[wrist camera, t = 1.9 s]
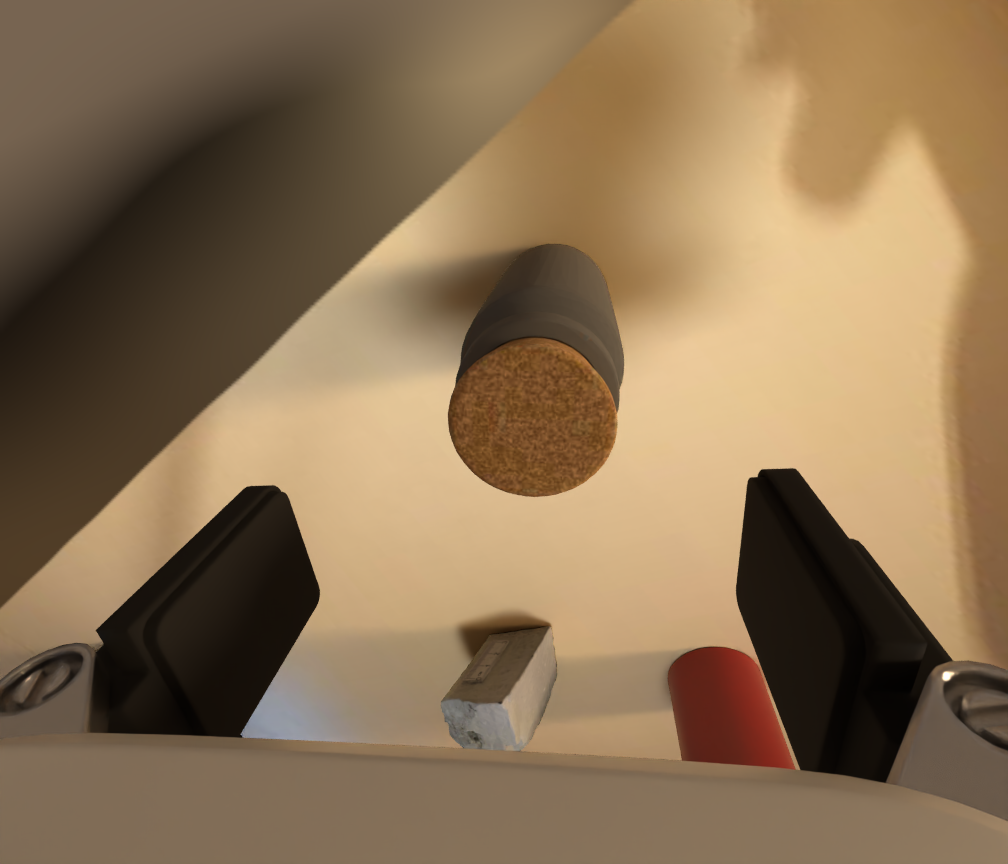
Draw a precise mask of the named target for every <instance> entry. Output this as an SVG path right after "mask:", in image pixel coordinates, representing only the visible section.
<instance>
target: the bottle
mask: <svg viewBox="0 0 1008 864" xmlns="http://www.w3.org/2000/svg"><path fill="white" fill-rule="evenodd" d="M623 373H624V354H623V348H622V343H621V338H620V333H619V329H618V325H617V321H616V317H615V314H614V310H613V306H612V302H611V299H610V295H609V291H608V288H607V284H606V282H605V279H604V277H603V275H602V273H601V271H600V269H599V268H598V266H597V265H596V264H595V262H594V261H593V260H592V259H591V258H590V257H588V256H587V255H586V254H584V253H583V252H581V251H579V250H577V249H575V248H573V247H570V246H567V245H561V244H546V245H541V246H538V247H535V248H532V249H530V250H528V251H526V252H524V253H523V254H521V255H520V256H519V257H517V258H516V259H515V260H514V261H513V262H512V263H511V265H510V266H509V267H508V268H507V269H506V271H505V272H504V274H503V275H502V277H501V278H500V280H499V281H498V283H497V284H496V286H495V287H494V289H493V290H492V292H491V293H490V295H489V296H488V298H487V299H486V301H485V302H484V304H483V305H482V307H481V308H480V310H479V311H478V313H477V315H476V317H475V318H474V320H473V322H472V324H471V326H470V328H469V330H468V331H467V333H466V336H465V339H464V343H463V346H462V352H461V363H460V367H459V370H458V374H457V377H456V384H455V388H454V391H453V393H452V396H451V400H450V405H449V411H448V424H449V432H450V435H451V439H452V442H453V444H454V446H455V449H456V451H457V453H458V455H459V456H460V457H461V459H462V460H463V462H464V463H465V464H466V466H467V467H468V468H469V469H470V470H471V471H472V472H473V473H474V474H475V475H477V476H478V477H479V478H480V479H482V480H483V481H484V482H486V483H488V484H489V485H491V486H493V487H495V488H498V489H500V490H502V491H505V492H508V493H512V494H517V495H522V496H531V497H539V496H550V495H556V494H559V493H562V492H565V491H568V490H571V489H573V488H575V487H577V486H579V485H581V484H583V483H584V482H585V481H587V480H588V479H589V478H590V477H592V476H593V475H594V474H595V473H596V472H597V471H598V470H599V469H600V468H601V467H602V465H603V464H604V463H605V461H606V460H607V458H608V457H609V454H610V452H611V450H612V448H613V445H614V443H615V438H616V432H617V412H618V407H619V389H620V386H621V383H622V379H623Z"/></svg>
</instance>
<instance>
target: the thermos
mask: <svg viewBox="0 0 1008 864" xmlns="http://www.w3.org/2000/svg"><path fill="white" fill-rule="evenodd" d="M668 684H669V689H670V695H671V701H672V706H673V712H674V718H675V723H676V729H677V734H678V740H679V746H680V751H681V757H682V761H692V762H706V763H720V764H734V765H747V766H761V767H775V768H786V769H794V770H796V769H795V766H794V764H793V761H792V758H791V755H790V753H789V750H788V747H787V744H786V742H785V739H784V736H783V733H782V730H781V728H780V725H779V722H778V719H777V717H776V714H775V711H774V708H773V706H772V703H771V700H770V697H769V695H768V692H767V689H766V686H765V684H764V681H763V678H762V675H761V673H760V670H759V668H758V666H757V664H756V663H755V662H754V661H753V660H752V659H751V658H750V657H748V656H747V655H745V654H743V653H741V652H739V651H736V650H733V649H729V648H721V647H709V648H702V649H697V650H694V651H691V652H689V653H687V654H685V655H683V656H681V657H680V658H679V659H677V660H676V661H675V662H674V663H673V665H672V666H671V668H670V670H669V673H668Z"/></svg>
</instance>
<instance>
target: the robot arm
mask: <svg viewBox="0 0 1008 864" xmlns="http://www.w3.org/2000/svg"><path fill="white" fill-rule="evenodd" d="M736 596H737V602H738V606H739V610H740V612H741V615H742V617H743V620H744V623H745V625H746V628H747V631H748V633H749V636H750V638H751V641H752V644H753V646H754V649H755V652H756V654H757V657H758V659H759V662H760V665H761V667H762V670H763V673H764V675H765V678H766V681H767V683H768V686H769V688H770V691H771V694H772V696H773V699H774V702H775V704H776V707H777V709H778V712H779V715H780V717H781V720H782V723H783V725H784V728H785V730H786V733H787V736H788V738H789V741H790V744H791V746H792V749H793V751H794V754H795V757H796V759H797V762H798V765H799V767H800V770H794V769H786V768H775V767H761V766H747V765H734V764H720V763H706V762H692V761H679V760H665V759H648V758H630V757H612V756H594V755H576V754H558V753H540V752H522V751H504V750H486V749H466V748H446V747H427V746H407V745H387V744H366V743H346V742H325V741H304V740H281V739H258V738H238V737H239V736H240V734H241V732H242V731H243V729H244V727H245V726H246V724H247V722H248V721H249V719H250V717H251V716H252V714H253V712H254V710H255V709H256V707H257V705H258V704H259V702H260V700H261V699H262V697H263V695H264V694H265V692H266V690H267V689H268V687H269V685H270V684H271V682H272V680H273V679H274V677H275V675H276V673H277V672H278V670H279V668H280V667H281V665H282V663H283V662H284V660H285V658H286V657H287V655H288V653H289V652H290V650H291V648H292V647H293V645H294V643H295V642H296V640H297V638H298V637H299V635H300V633H301V631H302V630H303V628H304V626H305V625H306V623H307V621H308V620H309V618H310V616H311V615H312V613H313V611H314V610H315V608H316V606H317V604H318V601H319V597H320V589H319V585H318V582H317V580H316V577H315V574H314V571H313V568H312V565H311V562H310V559H309V556H308V553H307V550H306V547H305V544H304V542H303V539H302V536H301V533H300V530H299V527H298V524H297V521H296V518H295V515H294V512H293V509H292V507H291V504H290V501H289V498H288V496H287V494H286V493H284V492H281V490H280V489H279V488H278V487H276V486H274V485H272V486H249V487H246V488H245V489H243V490H242V491H241V492H240V493H239V494H238V495H237V496H236V497H235V498H234V499H233V500H232V501H231V502H230V503H229V504H228V505H226V506H225V507H224V508H223V509H222V510H221V511H220V512H219V513H218V514H217V515H216V516H215V517H214V518H213V519H212V520H211V521H210V522H209V523H208V524H207V525H206V526H204V527H203V528H202V529H201V530H200V531H199V532H198V533H197V534H196V535H195V536H194V537H193V538H192V539H191V540H190V541H189V542H188V543H187V544H186V545H185V546H184V547H182V548H181V549H180V550H179V551H178V552H177V553H176V554H175V555H174V556H173V557H172V558H171V559H170V560H169V561H168V562H167V563H166V564H165V565H164V566H163V567H162V568H160V569H159V570H158V571H157V572H156V573H155V574H154V575H153V576H152V577H151V578H150V579H149V580H148V581H147V582H146V583H145V584H144V585H143V586H142V587H141V588H140V589H138V590H137V591H136V592H135V593H134V594H133V595H132V596H131V597H130V598H129V599H128V600H127V601H126V602H125V603H124V604H123V605H122V606H121V607H120V608H119V609H118V610H116V611H115V612H114V613H113V614H112V615H111V616H110V617H109V618H108V619H107V620H106V621H105V622H104V623H103V624H102V625H101V626H100V627H99V628H98V629H97V630H96V631H97V633H98V635H99V636H100V638H101V640H102V641H103V643H104V645H103V646H102V647H101V648H100V649H99V650H98V651H97V652H95V650H94V649H93V648H92V647H90V646H89V645H88V644H82V643H73V644H66V645H62V646H59V647H56V648H53V649H50V650H47V651H45V652H43V653H41V654H39V655H37V656H35V657H32V658H30V659H29V660H27V661H26V662H24V663H22V664H21V665H19V666H18V667H16V668H15V669H13V670H12V671H11V672H9V673H8V674H7V675H6V676H5V677H3V678H2V679H1V680H0V864H1008V670H1005V669H1002V668H999V667H997V666H994V665H991V664H985V663H979V662H973V661H953V660H952V659H951V658H950V656H949V655H948V654H947V652H946V651H945V650H944V649H943V647H942V646H941V645H940V643H939V642H938V641H937V640H936V638H935V637H934V636H933V634H932V633H931V632H930V631H929V629H928V628H927V627H926V625H925V624H924V623H923V622H922V620H921V619H920V618H919V616H918V615H917V614H916V613H915V611H914V610H913V609H912V607H911V606H910V605H909V604H908V602H907V601H906V600H905V599H904V597H903V596H902V595H901V593H900V592H899V591H898V590H897V588H896V587H895V586H894V584H893V583H892V582H891V581H890V579H889V578H888V577H887V575H886V574H885V573H884V572H883V570H882V569H881V568H880V566H879V565H878V564H877V563H876V561H875V560H874V559H873V557H872V556H871V555H870V554H869V552H868V551H867V550H866V548H865V547H864V546H863V545H862V544H861V543H860V542H859V541H857V540H854V539H849V538H848V537H847V535H846V534H845V533H844V531H843V530H842V529H841V527H840V526H839V525H838V523H837V522H836V521H835V519H834V518H833V517H832V515H831V514H830V513H829V512H828V510H827V509H826V508H825V506H824V505H823V504H822V502H821V501H820V500H819V498H818V497H817V496H816V494H815V493H814V492H813V490H812V489H811V488H810V486H809V485H808V484H807V482H806V481H805V480H804V478H803V477H802V476H801V474H800V473H799V472H798V471H797V470H796V469H793V468H791V469H762V470H761V471H760V472H759V474H758V477H752V478H749V480H748V484H747V492H746V501H745V511H744V520H743V529H742V538H741V548H740V557H739V566H738V575H737V585H736Z"/></svg>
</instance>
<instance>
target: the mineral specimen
mask: <svg viewBox="0 0 1008 864" xmlns="http://www.w3.org/2000/svg"><path fill="white" fill-rule="evenodd" d="M556 667H557V664H556V659H555V649H554V646H553V635H552V628H551V627H550V626H547V627H542V628H538V629H529V630H520V631H516V632H509V633H500V634H494V635H490V636H489V637H488V638H487V640H486V642H485V643H484V644H483V645H482V647H481V649H480V650H479V651H478V653H477V654H476V656H475V657H474V659H473V660H472V661H471V663H470V664H469V665H468V667H467V668H466V670H465V671H464V672H463V673H462V674H461V676H460V678H459V679H458V680H457V681H456V683H455V684H454V685H453V686H452V688H451V689H450V691H449V692H448V693H447V695H446V696H445V697H444V698H443V700H442V701H441V709H442V712H443V713H444V716H445V722H447V723H448V724H449V732H450V735H451V737H452V738H453V739H454V740H455V741H456V742H457V743H459V744H460V745H461V746H462V747H463V748H466V749H486V750H504V751H521V750H522V749H523V748H524V747H525V746H526V745H527V744H528V743H529V742H530V740H531V739H532V737H533V734H534V731H535V729H536V727H537V726H538V725H539V723H540V721H541V718H542V715H543V713H544V711H545V709H546V706H547V703H548V701H549V698H550V696H551V690H552V687H553V685H554V682H555V681H556V677H557V671H556Z"/></svg>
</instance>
